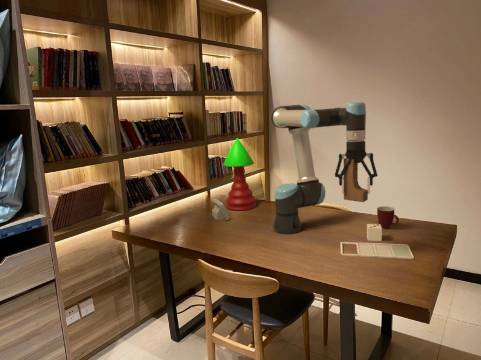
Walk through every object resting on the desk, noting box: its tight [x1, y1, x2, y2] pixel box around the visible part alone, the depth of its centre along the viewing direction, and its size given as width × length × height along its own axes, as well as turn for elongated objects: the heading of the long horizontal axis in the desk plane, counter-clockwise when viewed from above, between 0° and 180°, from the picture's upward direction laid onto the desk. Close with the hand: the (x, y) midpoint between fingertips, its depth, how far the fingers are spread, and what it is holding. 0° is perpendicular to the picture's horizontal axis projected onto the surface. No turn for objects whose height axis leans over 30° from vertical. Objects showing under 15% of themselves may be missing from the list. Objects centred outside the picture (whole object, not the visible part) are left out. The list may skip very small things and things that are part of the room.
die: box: [366, 223, 383, 242], centre depth 171 cm, size 6×6×6 cm
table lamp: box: [223, 137, 257, 212], centre depth 232 cm, size 20×20×45 cm
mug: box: [376, 205, 400, 230], centre depth 183 cm, size 10×8×10 cm
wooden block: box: [343, 157, 369, 203], centre depth 153 cm, size 9×4×18 cm, turn 48°
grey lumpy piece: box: [211, 198, 230, 221], centre depth 215 cm, size 16×9×11 cm, turn 11°
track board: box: [340, 241, 415, 260], centre depth 158 cm, size 29×14×1 cm, turn 76°
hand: (355, 192), depth 154 cm, fingers closed on wooden block, 10 cm apart
